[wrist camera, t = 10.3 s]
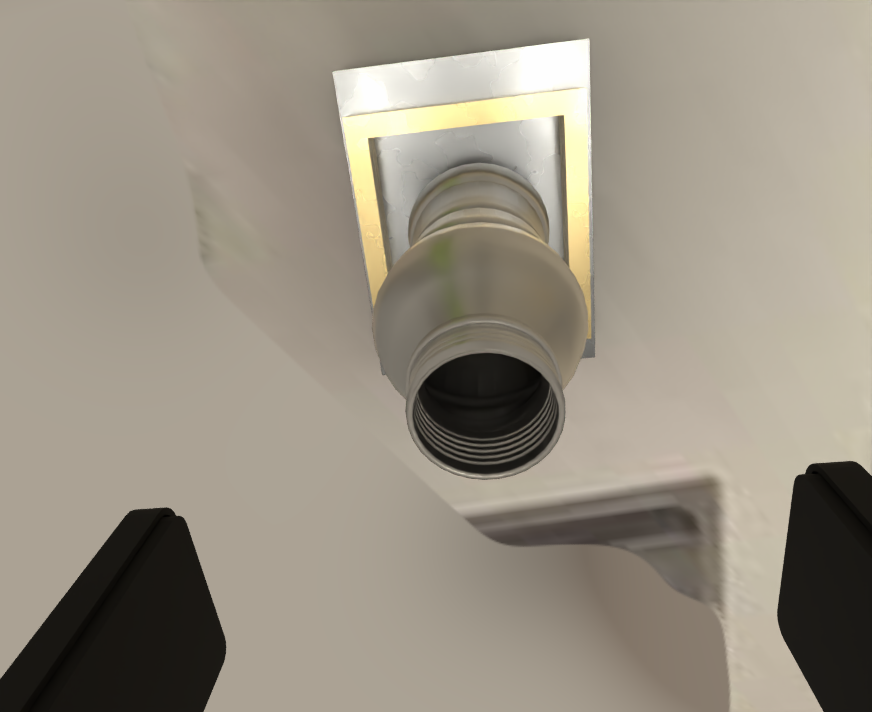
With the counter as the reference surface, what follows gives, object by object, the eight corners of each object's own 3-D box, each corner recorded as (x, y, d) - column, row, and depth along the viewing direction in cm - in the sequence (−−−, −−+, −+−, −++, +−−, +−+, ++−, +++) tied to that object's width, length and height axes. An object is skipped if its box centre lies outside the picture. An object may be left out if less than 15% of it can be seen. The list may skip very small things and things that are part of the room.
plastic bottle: (540, 280, 34) (620, 531, 16) (413, 280, 35) (350, 525, 16) (547, 154, 32) (652, 283, 13) (409, 155, 32) (329, 283, 14)
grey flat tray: (343, 71, 33) (323, 71, 29) (579, 41, 32) (597, 36, 28) (388, 354, 40) (377, 390, 35) (586, 336, 39) (601, 372, 34)
